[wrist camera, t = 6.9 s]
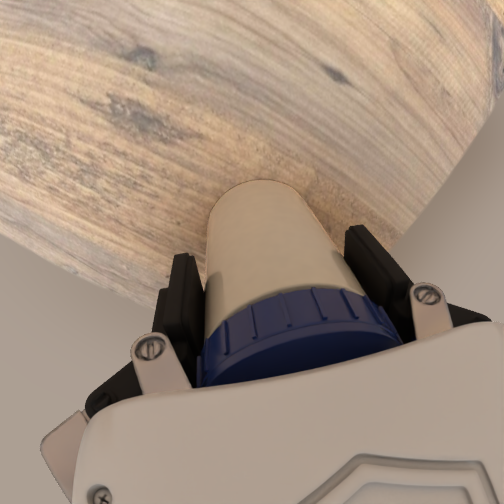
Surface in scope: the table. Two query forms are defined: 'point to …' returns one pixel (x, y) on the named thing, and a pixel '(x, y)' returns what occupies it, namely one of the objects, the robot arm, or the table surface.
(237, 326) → the lid
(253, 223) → the jar
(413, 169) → the table surface
